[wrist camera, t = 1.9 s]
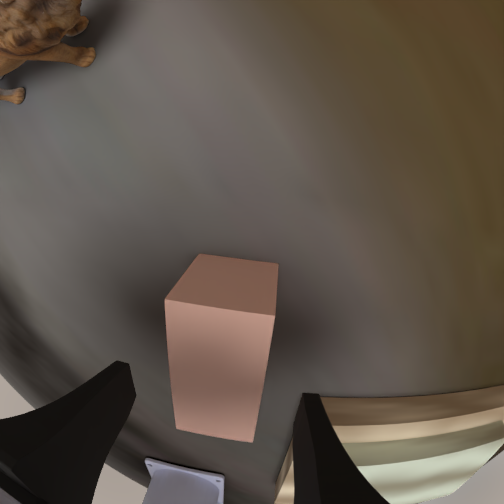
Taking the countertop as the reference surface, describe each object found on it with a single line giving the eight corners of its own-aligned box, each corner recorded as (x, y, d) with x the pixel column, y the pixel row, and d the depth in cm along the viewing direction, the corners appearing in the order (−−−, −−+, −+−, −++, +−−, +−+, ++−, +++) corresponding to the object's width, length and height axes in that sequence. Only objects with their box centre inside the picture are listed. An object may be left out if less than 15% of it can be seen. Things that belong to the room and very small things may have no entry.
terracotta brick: (260, 379, 18) (252, 442, 13) (198, 369, 18) (176, 428, 13) (278, 262, 15) (275, 316, 10) (199, 252, 15) (164, 299, 10)
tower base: (446, 469, 21) (455, 497, 17) (275, 483, 22) (272, 520, 18) (514, 382, 16) (535, 414, 12) (305, 396, 18) (307, 451, 13)
